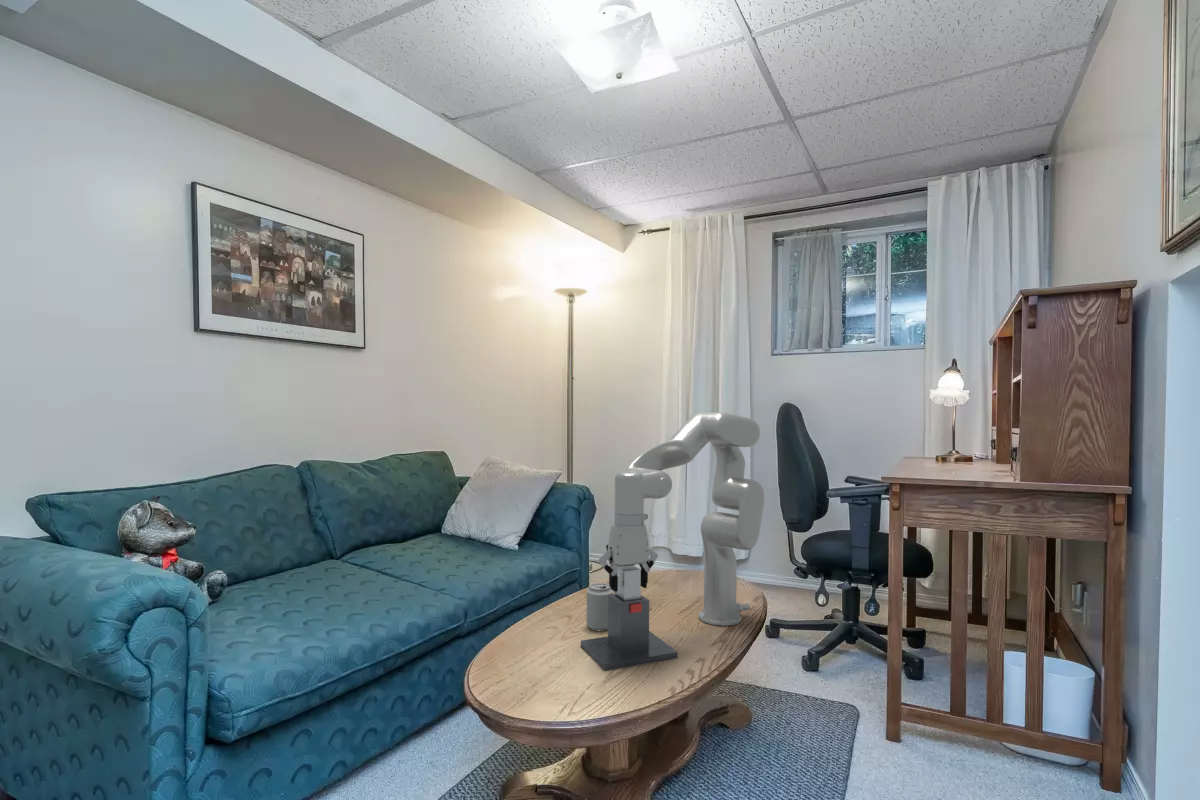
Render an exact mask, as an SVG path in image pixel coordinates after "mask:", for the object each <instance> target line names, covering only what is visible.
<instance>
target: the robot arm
mask: <svg viewBox="0 0 1200 800" xmlns="http://www.w3.org/2000/svg"><path fill="white" fill-rule="evenodd" d="M760 437H761V429H760V426H759V424H758V423H757V421H755V420H754V419H753V418H751V417H746V416H742V415H741V416H740V415H738V414H732V413H727V412H719V411H718V412H717V411H716V412H715V411H713V412H711V411H709V412H708V411H701V412H696V413H694V414H692V415H691V416H690V417H689V418H688V419H687V420H686V421H685V422H684V423H683V425H682V426H681V427H680V428H679V429H677V431H676V432H675V433H674V434H673V435H672V436H671V437H670V438H669V439H668V440H666V441H665V442H662V443H660V444H658V445H656V446H654V447H652V448H650V449H648V450H647V451H644V452H643V453H641V454H640V455H639V456H637V457H636V458H635V459H634V460H633V462H632V463H631V464H629V466H627V468H626V469H625V470H624V471H619V472H616V474H615V476H614V524H611V525H610V529H609V534H608V535H609V536H608V542H607V545H608V551H607V550H606V552H605V553H604V554H603V555H602V556H600V558H598V560H597V561H598V563H599V564H600V565H601V566H602V568H603V569H604V570H605V571H606V573H607V574H608V576H609V577H608V578H609V579H608V584H609V586H610V588H611V589H612V590H613V592H614V591H615V592H617V591H618V576H617V575H616V573H617V571H618V569H619V567H620V566H625V565H633V566H636V565H639V567H640V569H641V588H644V589H647V584H648V583H649V581H648V580H649V575H648V573H650V572H651V571H650V570H651V568H652V567H653V566H654V564H655V562H656V560H657V559H658V557H659V554H658V553H656V552H655V551H654V550H652V549H651V548H650V545H649V537H648V536H649V535H648V530H647V525H646V524H645V520H648V519H649V515H648V513H646V514H645V512H644V511H645V510H644V506H645V505H644V504H645V503H644V502H645V499H653V500H654V499H655V500H656V499H657V500H659V499H662V498H665V497H667V496H668V495H669V494H670V492H671V491H672V488H673V482H672V478H671V477H670V475H669V474H668V473H666V472H665V471H664V470H667V469H671V468H676V467H680V466H684V465H687V464H689V463H690V462H691V461H693V460H694V458H695V457H696V456H697V455H698V454H699V453H700V452H701V450H702V449H703V448H704V447H705V446H706V445H707V444H708V443H710V444H711V446H712V447H713V450H714V452H715V455H716V466H715V472H714V477H713V483H712V491H711V501H712V502H713V504H714V505H715V506H716V507H720V508H721V509H722V508H723V509H728V510H731V511H733V510H734V511H738V514H733V513H728V512H722V511H711V512H708V513H707V514H705V515H704V516H703V518H702V520H701V522H700V534H701V540H702V545H703V570H704V571H703V609H702V610H700V611H699V612H698V619H699V620H700V621H702V622H704V623H706V624H709V625H712V626H713V625H714V626H719V625H721V626H723V627H725V626H729V625H730V626H735V625H738V624H739V623H741V622H742V617H743V616H742V615H741V614H740V613H741V612H742V611H743V612H744V611H749V610H750V609H751V606H750V604H749V603H742V602H737V556H736V553H735V551H734V549H736V550H741V551H750V550H752V549H754V547H755V546H756V544H758V543H757V542H758V541H759V537H760V533H761V532H760V531H761V526H762V519H763V512H764V509H765V508H764V506H765V492H764V488H763V486H762V485H761V483H759V482H758V481H757V480H755V479H750V478H744V476H745V470H746V469H745V468H746V460H745V456H744V454H743V452H742V450H741V447H742V448H751V447H753V446H755V445H756V444H757V443H758V442H759V440H760ZM607 561H608V562H612V563H611V565H610V564H609V563H608V562H607ZM635 564H636V565H635Z"/></svg>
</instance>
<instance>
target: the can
mask: <svg viewBox="0 0 1200 800" xmlns="http://www.w3.org/2000/svg"><path fill="white" fill-rule="evenodd" d="M610 594H614V591H613V590H612V589H611V588H610V586H609V583H605V582H594V583H591V584H589V586H588V589H587V590H586V626H587V627H588V628H589V629H590V628H591V629H593V630H592V631H595V630H600V631H599V632H602V631H601V630H605V631H608V630H607V629H608V595H610ZM591 629H590V630H591Z"/></svg>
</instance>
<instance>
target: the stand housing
mask: <svg viewBox="0 0 1200 800" xmlns="http://www.w3.org/2000/svg"><path fill="white" fill-rule="evenodd" d="M580 647H581V648H582V649H583V648H584V649H583V651H585V653H586V654H588V656H589V657H590V658H591V659H593V661H594V662H595V663H597V665H598V666H599V668H601V669H602V670H603V671H611V670H612V671H613V670H617V669H618V670H619V669H624V668H628V667H634V666H641V665H646V664H651V663H657V662H663V660H664V661H668V660H674V659H673V658H675V659H678V658H679V654H678V653H679V652H678V651H677V650H676V649H675V648H673V647H672V646H670V645H669V644H668V643H666V642H665V641H663V640H662V638H659V637H658V636H657V635H655V634H654V633H653V632H652V631H650V600H649V599H648V598H647V597H646V596H643V595H642V594H641V600H634V601H626V602H623V601H621V600H620V599H619V598H617V594H615V593H613V594H610V595H608V630H607V636H603V637H601V636H600V637H595V638H591V639H590V638H589V639H583V640H582V639H581V640H580Z"/></svg>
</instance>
